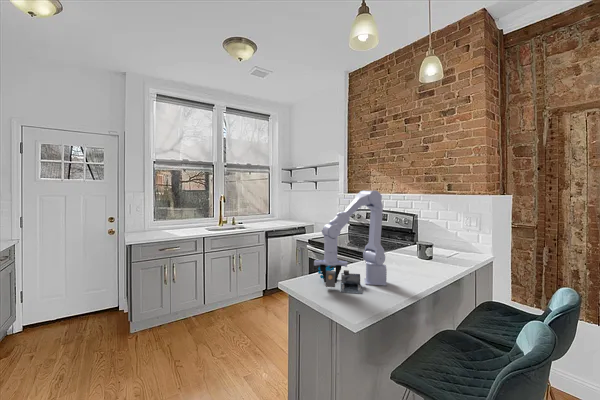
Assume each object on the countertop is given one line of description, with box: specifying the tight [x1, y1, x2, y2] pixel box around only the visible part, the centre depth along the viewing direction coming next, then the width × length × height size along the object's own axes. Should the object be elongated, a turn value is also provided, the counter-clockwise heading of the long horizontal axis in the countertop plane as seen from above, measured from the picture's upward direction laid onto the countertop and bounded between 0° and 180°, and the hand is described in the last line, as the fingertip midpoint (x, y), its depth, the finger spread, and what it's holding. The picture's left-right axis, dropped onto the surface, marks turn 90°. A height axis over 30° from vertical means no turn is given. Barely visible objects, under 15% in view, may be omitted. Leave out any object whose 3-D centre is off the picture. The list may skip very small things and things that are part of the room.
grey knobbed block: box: [325, 270, 336, 288], centre depth 126 cm, size 4×5×6 cm
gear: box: [317, 266, 336, 280], centre depth 141 cm, size 11×6×10 cm
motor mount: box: [340, 269, 363, 295], centre depth 128 cm, size 9×12×7 cm
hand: (330, 282), depth 126 cm, fingers closed on grey knobbed block, 4 cm apart
